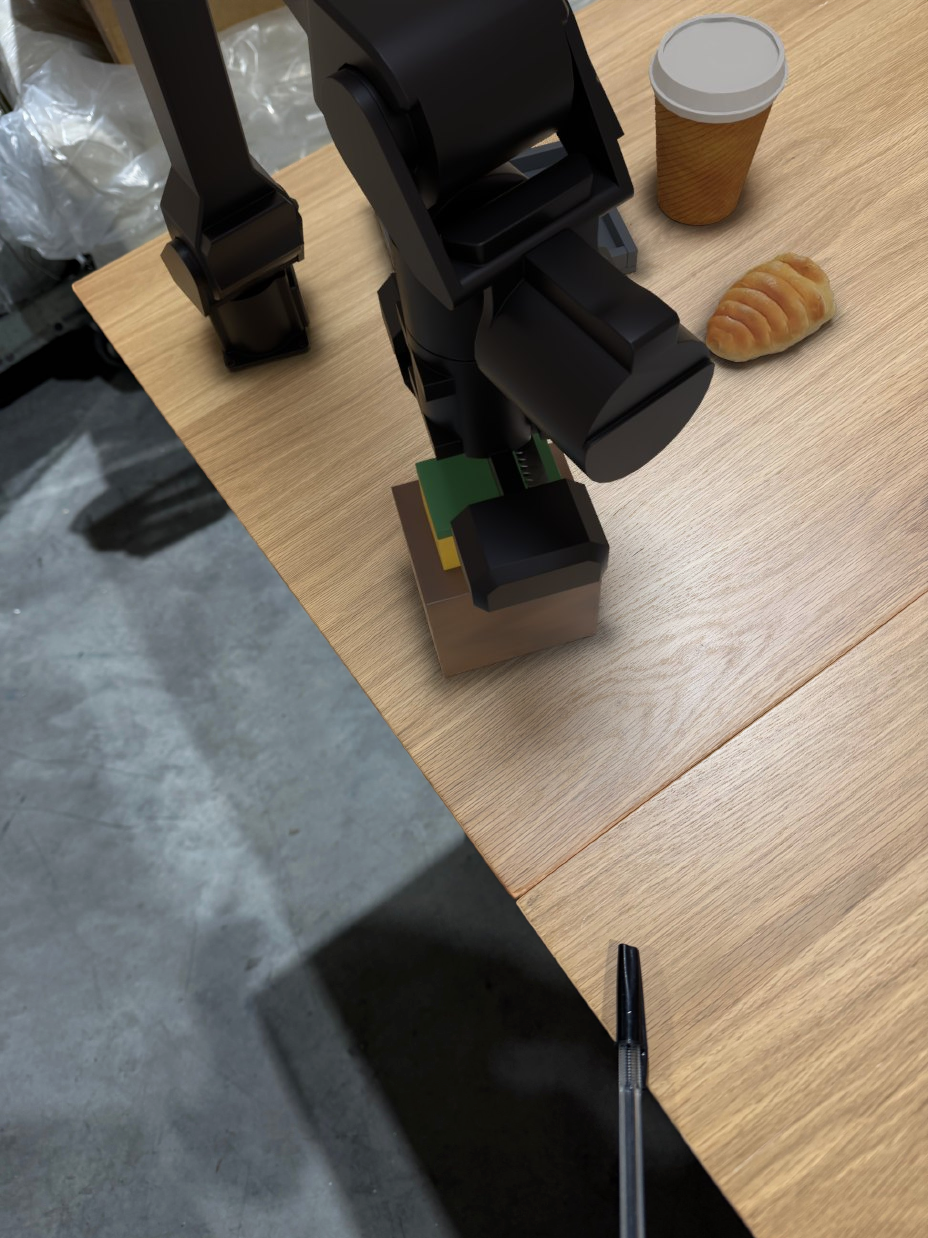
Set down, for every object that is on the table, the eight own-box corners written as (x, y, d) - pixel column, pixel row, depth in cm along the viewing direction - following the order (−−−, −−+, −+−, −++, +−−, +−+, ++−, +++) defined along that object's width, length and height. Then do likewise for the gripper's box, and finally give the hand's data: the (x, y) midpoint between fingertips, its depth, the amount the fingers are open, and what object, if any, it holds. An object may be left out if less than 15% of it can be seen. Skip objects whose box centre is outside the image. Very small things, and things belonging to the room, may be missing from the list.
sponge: (444, 570, 52) (436, 532, 48) (423, 504, 54) (414, 462, 50) (567, 536, 52) (569, 495, 49) (542, 471, 54) (542, 427, 51)
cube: (444, 678, 60) (425, 606, 51) (413, 571, 64) (390, 486, 55) (596, 634, 61) (604, 555, 52) (557, 530, 64) (558, 440, 55)
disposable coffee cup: (778, 178, 77) (815, 30, 66) (725, 256, 74) (755, 113, 63) (670, 142, 80) (689, -6, 69) (615, 216, 76) (625, 72, 66)
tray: (414, 330, 73) (411, 310, 71) (374, 210, 79) (370, 189, 77) (636, 271, 74) (638, 249, 72) (579, 157, 80) (580, 134, 78)
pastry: (747, 388, 68) (757, 351, 65) (679, 335, 71) (686, 296, 67) (839, 319, 70) (853, 279, 67) (769, 270, 73) (780, 229, 69)
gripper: (755, 433, 35) (696, 620, 49) (590, 112, 43) (580, 351, 57) (461, 514, 34) (486, 680, 48) (350, 174, 43) (399, 400, 57)
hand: (493, 514), depth 53 cm, fingers open, 8 cm apart
